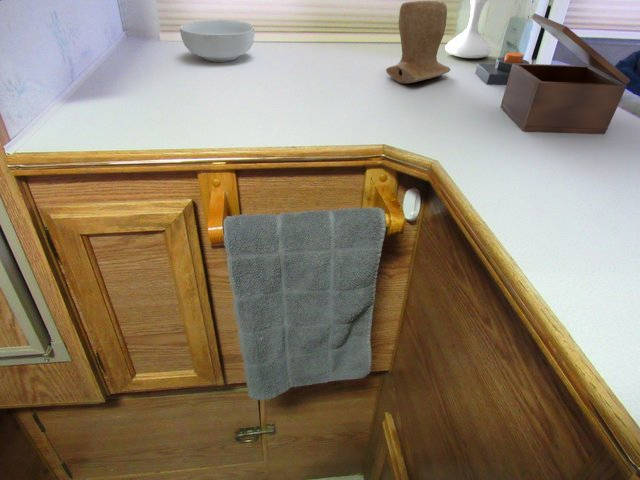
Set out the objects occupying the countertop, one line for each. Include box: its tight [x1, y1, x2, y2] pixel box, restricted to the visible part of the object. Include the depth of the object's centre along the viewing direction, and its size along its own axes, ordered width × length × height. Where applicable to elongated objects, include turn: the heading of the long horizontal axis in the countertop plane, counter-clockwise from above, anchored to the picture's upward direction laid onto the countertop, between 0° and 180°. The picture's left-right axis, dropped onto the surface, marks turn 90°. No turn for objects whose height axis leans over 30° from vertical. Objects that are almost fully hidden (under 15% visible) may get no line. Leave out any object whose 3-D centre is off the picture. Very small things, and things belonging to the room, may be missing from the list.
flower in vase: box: [444, 0, 492, 59], centre depth 104 cm, size 13×11×25 cm
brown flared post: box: [385, 0, 451, 84], centre depth 89 cm, size 15×12×15 cm
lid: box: [530, 13, 631, 85], centre depth 67 cm, size 14×12×1 cm
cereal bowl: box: [179, 19, 255, 63], centre depth 100 cm, size 17×17×7 cm
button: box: [504, 51, 524, 63], centre depth 91 cm, size 4×4×2 cm
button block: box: [474, 56, 530, 86], centre depth 93 cm, size 12×9×4 cm
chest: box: [499, 63, 628, 135], centre depth 72 cm, size 14×12×8 cm
